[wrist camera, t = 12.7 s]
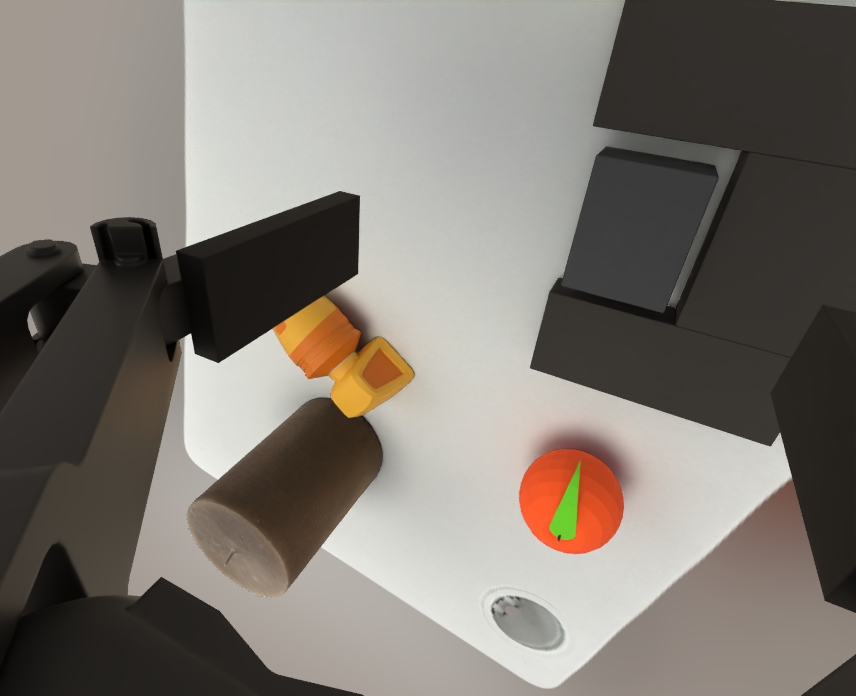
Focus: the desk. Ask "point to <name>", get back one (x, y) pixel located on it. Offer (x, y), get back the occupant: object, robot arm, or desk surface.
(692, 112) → the black u-shaped block
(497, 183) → the desk surface
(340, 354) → the yellow toy drill
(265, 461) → the pillar candle
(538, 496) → the clementine
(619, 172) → the dark grey rectangular block
